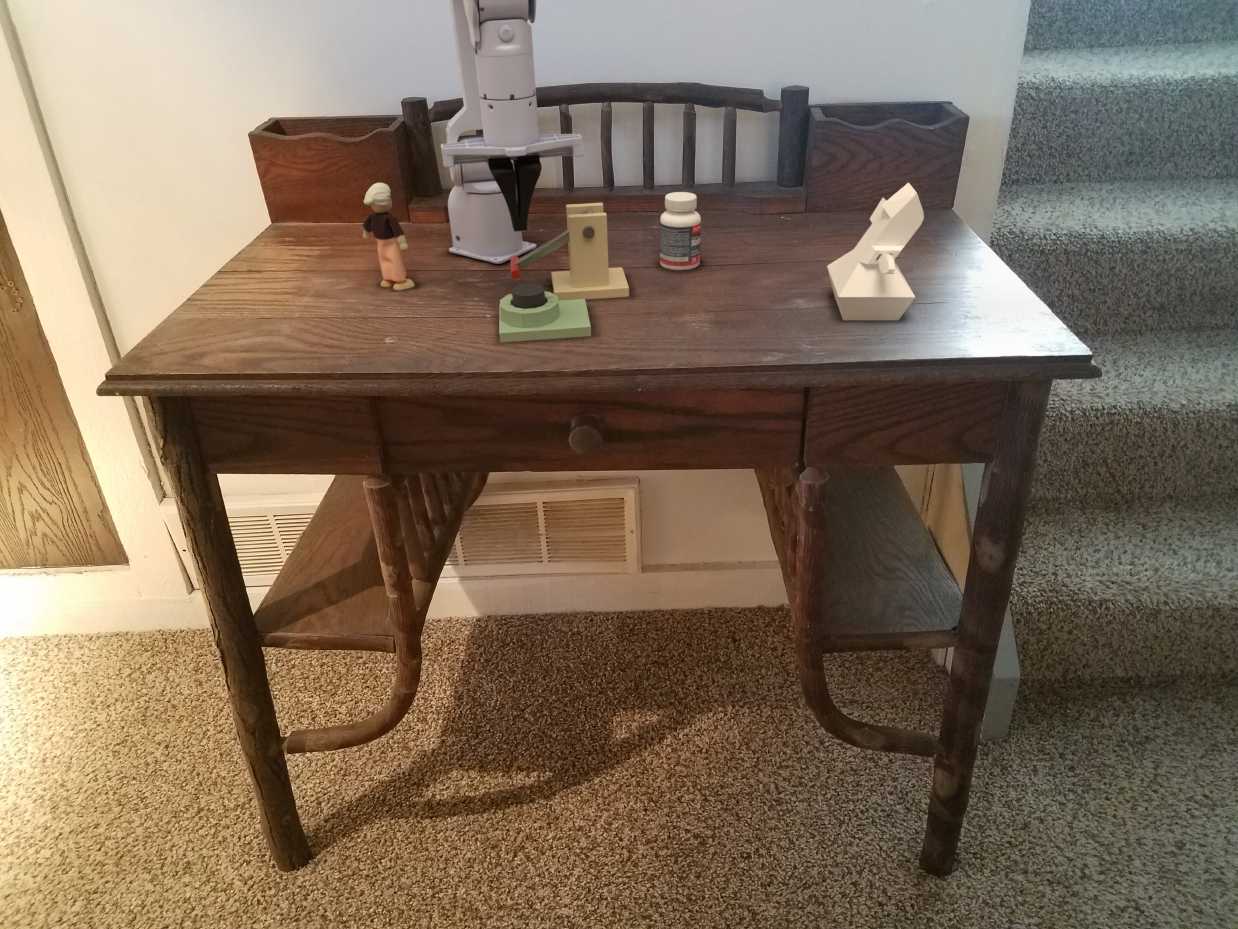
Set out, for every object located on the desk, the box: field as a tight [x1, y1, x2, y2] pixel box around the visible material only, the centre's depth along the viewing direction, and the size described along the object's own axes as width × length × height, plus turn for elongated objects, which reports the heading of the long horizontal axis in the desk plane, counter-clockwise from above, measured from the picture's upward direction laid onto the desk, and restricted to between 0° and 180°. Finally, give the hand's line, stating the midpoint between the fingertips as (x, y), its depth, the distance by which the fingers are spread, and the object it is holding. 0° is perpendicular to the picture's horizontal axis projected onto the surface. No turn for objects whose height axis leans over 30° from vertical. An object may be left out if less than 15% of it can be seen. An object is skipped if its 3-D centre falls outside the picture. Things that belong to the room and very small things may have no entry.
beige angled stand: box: [826, 182, 925, 321], centre depth 96 cm, size 8×14×14 cm, turn 176°
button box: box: [498, 291, 592, 343], centre depth 98 cm, size 10×8×3 cm
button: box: [511, 283, 545, 309], centre depth 97 cm, size 4×4×2 cm
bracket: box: [550, 202, 630, 301], centre depth 105 cm, size 9×7×10 cm
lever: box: [510, 208, 594, 280], centre depth 104 cm, size 12×5×2 cm, turn 96°
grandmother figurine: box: [362, 182, 416, 291], centre depth 107 cm, size 8×4×13 cm, turn 65°
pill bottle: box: [659, 191, 702, 272], centre depth 111 cm, size 5×5×9 cm
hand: (519, 228), depth 95 cm, fingers closed
